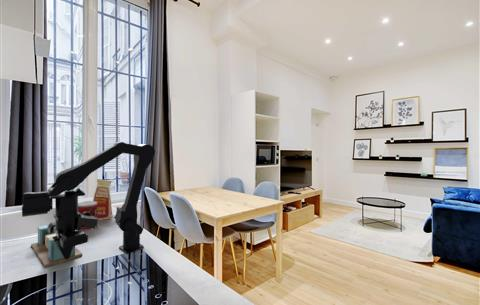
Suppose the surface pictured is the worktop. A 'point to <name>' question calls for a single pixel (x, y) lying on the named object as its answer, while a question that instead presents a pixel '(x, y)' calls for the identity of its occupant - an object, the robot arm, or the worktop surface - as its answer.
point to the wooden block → (49, 238)
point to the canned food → (88, 209)
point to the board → (43, 254)
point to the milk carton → (103, 199)
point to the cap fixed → (43, 233)
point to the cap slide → (55, 251)
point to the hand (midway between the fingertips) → (66, 258)
